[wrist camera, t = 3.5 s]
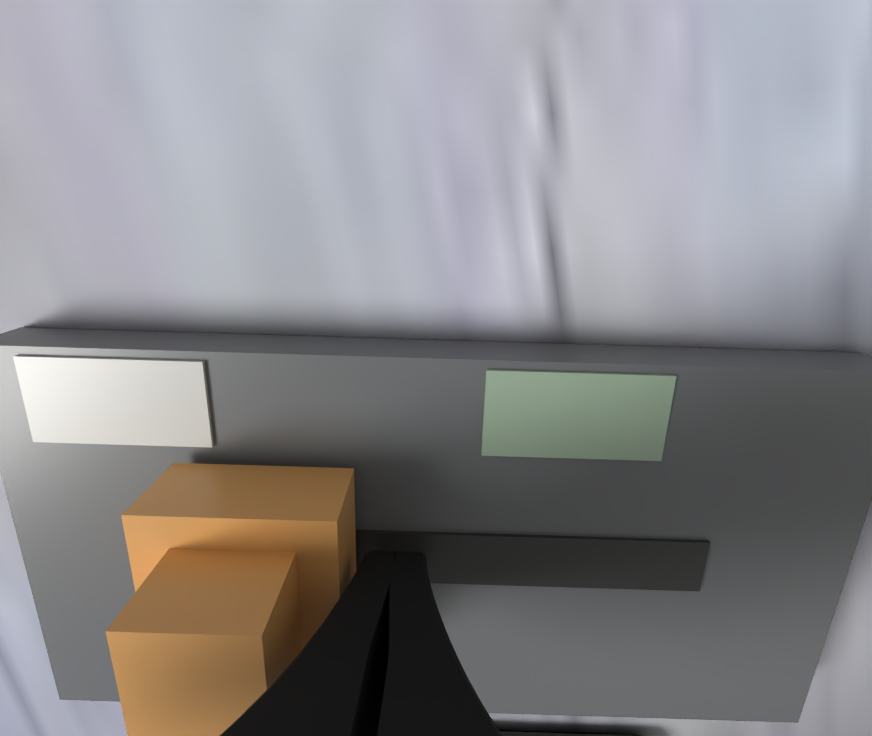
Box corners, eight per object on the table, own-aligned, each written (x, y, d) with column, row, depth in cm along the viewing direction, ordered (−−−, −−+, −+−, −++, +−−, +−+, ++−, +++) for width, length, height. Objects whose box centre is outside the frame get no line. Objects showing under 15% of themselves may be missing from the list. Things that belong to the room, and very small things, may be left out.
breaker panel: (94, 653, 16) (57, 703, 14) (21, 327, 13) (-37, 346, 11) (765, 674, 16) (800, 725, 14) (859, 352, 13) (917, 374, 11)
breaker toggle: (199, 640, 13) (101, 820, 9) (173, 462, 12) (43, 593, 8) (358, 645, 13) (324, 827, 9) (354, 467, 12) (311, 600, 8)
